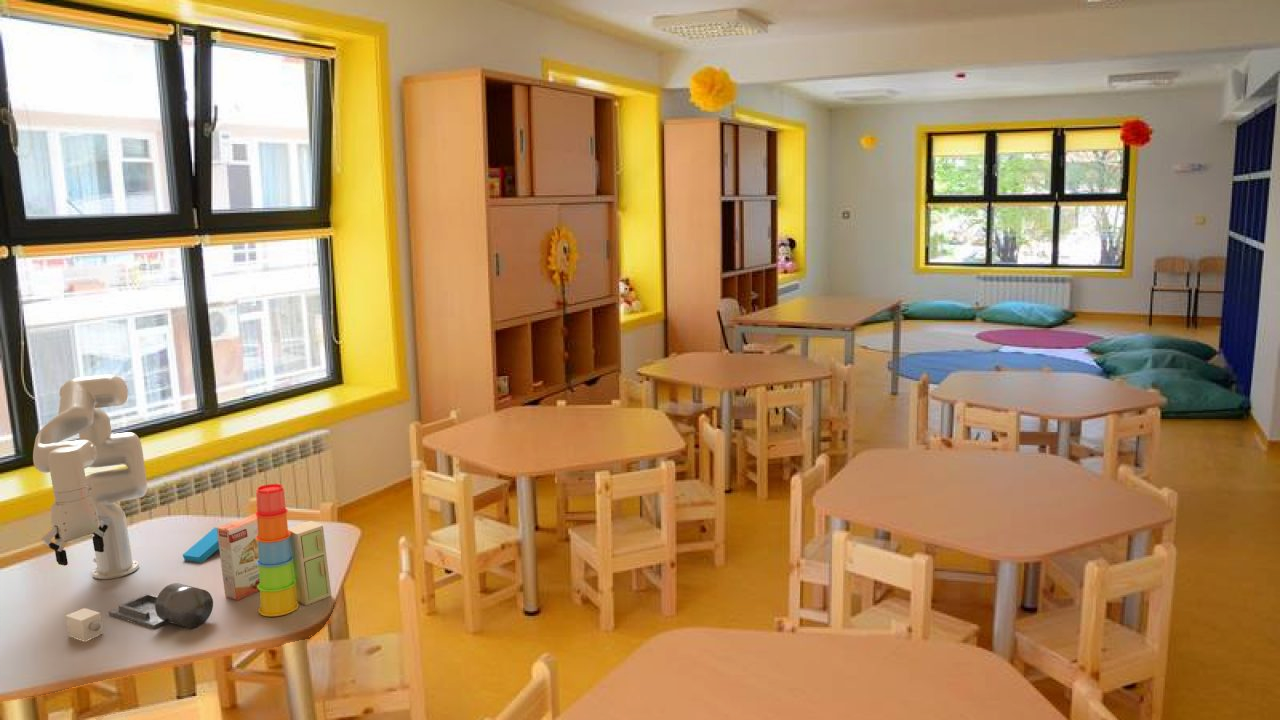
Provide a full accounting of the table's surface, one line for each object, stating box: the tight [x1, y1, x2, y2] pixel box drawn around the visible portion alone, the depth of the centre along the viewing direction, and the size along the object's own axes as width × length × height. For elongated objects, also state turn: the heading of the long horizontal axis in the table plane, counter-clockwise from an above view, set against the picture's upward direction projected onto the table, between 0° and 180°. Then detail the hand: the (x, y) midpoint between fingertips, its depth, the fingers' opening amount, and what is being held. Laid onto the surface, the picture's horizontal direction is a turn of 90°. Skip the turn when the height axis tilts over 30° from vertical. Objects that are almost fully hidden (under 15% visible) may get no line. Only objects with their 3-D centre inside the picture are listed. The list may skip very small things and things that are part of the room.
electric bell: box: [108, 582, 214, 630], centre depth 262 cm, size 30×12×10 cm, turn 61°
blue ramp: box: [182, 527, 219, 563], centre depth 309 cm, size 7×7×18 cm
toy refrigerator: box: [288, 520, 332, 606], centre depth 267 cm, size 8×7×21 cm
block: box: [65, 607, 104, 642], centre depth 253 cm, size 9×5×6 cm, turn 61°
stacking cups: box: [254, 483, 300, 617], centre depth 260 cm, size 10×10×35 cm
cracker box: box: [216, 513, 260, 601], centre depth 275 cm, size 14×6×21 cm, turn 148°
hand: (81, 557), depth 252 cm, fingers open, 9 cm apart
